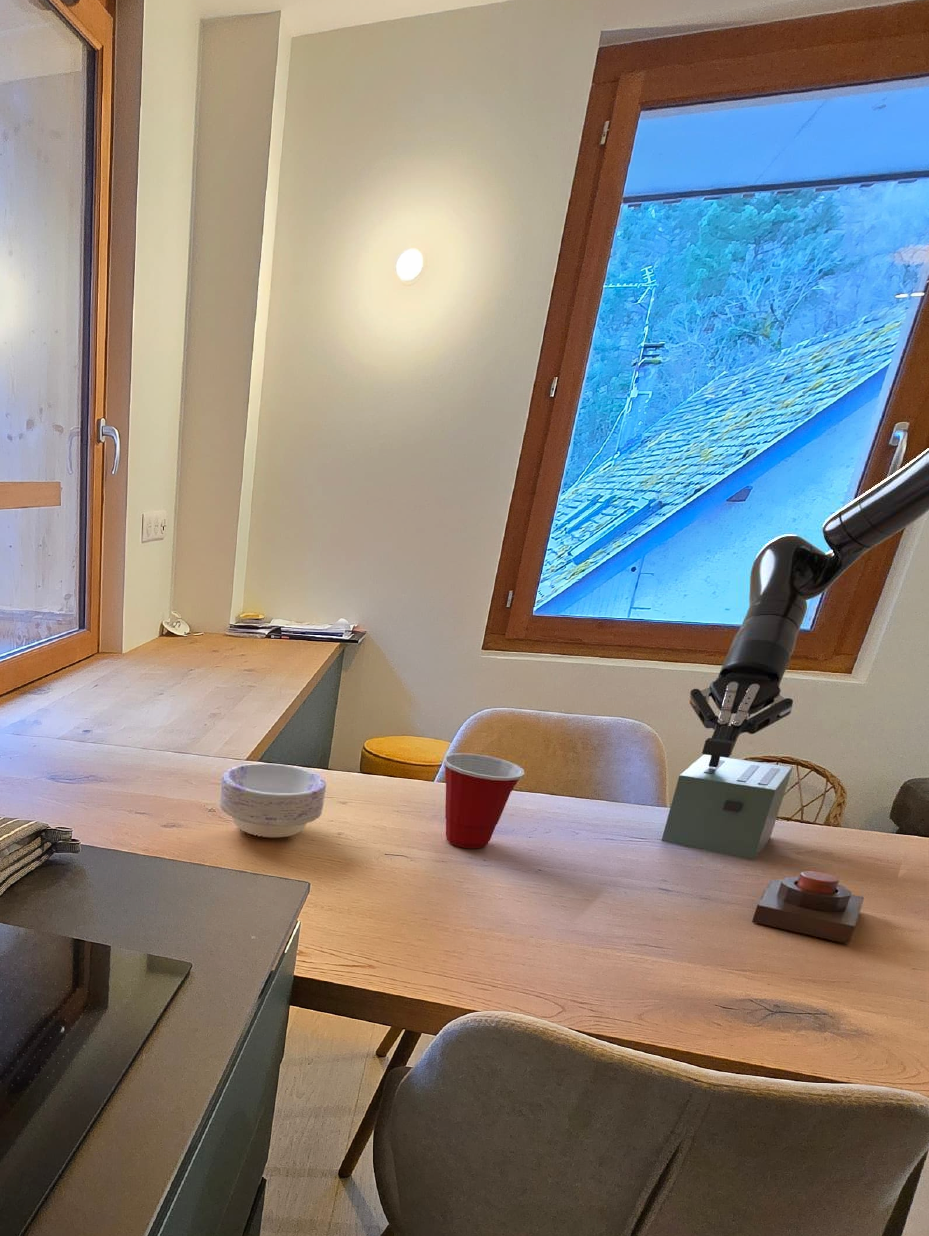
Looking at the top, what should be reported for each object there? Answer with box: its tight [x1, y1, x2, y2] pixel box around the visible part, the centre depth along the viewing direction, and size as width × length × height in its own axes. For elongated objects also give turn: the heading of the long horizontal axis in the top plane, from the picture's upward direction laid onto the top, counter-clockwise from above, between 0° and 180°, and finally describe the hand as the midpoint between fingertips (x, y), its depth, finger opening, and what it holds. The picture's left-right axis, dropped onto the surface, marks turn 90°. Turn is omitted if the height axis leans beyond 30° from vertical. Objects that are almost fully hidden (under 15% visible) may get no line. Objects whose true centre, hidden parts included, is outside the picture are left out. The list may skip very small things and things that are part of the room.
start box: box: [751, 876, 865, 945], centre depth 110 cm, size 12×9×4 cm
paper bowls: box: [219, 762, 327, 838], centre depth 139 cm, size 15×15×8 cm
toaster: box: [660, 754, 793, 861], centre depth 133 cm, size 18×11×11 cm, turn 137°
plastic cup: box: [443, 752, 526, 849], centre depth 133 cm, size 11×11×12 cm
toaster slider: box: [701, 737, 736, 767], centre depth 131 cm, size 2×3×4 cm
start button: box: [796, 870, 840, 894], centre depth 109 cm, size 4×4×2 cm
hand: (719, 751), depth 133 cm, fingers closed
